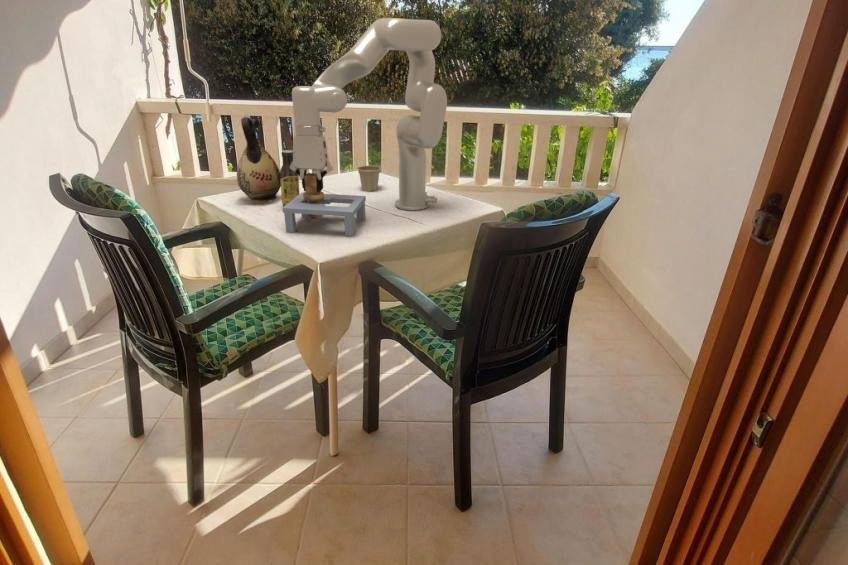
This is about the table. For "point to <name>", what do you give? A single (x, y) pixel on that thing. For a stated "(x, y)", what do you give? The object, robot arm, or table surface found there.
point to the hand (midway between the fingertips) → (313, 190)
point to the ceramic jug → (257, 167)
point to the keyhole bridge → (326, 210)
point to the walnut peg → (312, 192)
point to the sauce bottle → (288, 179)
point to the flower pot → (369, 177)
